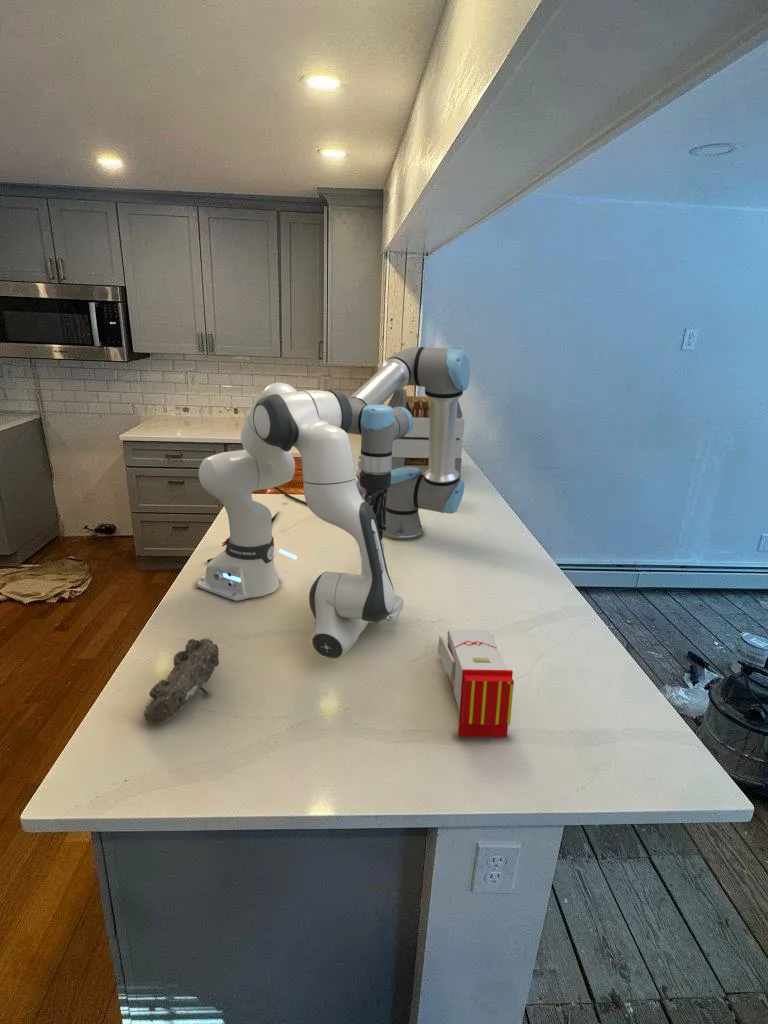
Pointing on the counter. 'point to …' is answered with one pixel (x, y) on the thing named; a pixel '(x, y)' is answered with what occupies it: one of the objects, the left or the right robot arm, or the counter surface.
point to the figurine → (360, 489)
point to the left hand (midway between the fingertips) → (372, 587)
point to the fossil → (183, 680)
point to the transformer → (419, 433)
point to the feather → (274, 517)
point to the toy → (478, 682)
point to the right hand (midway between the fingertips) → (372, 558)
